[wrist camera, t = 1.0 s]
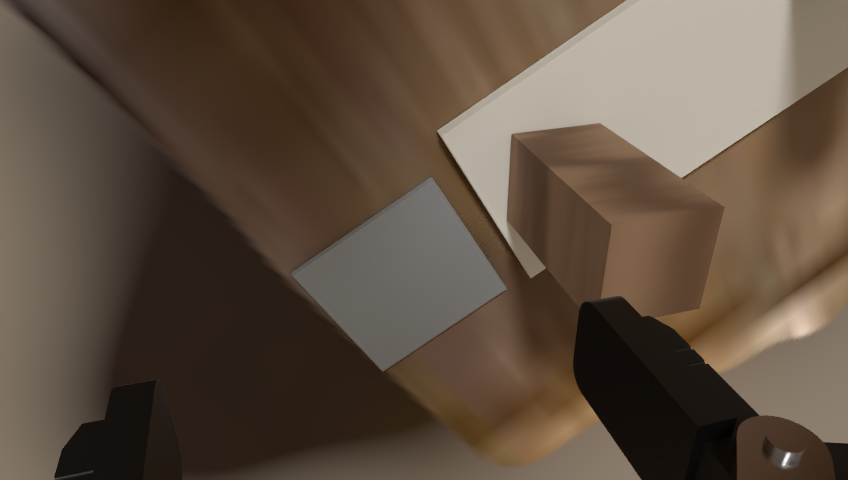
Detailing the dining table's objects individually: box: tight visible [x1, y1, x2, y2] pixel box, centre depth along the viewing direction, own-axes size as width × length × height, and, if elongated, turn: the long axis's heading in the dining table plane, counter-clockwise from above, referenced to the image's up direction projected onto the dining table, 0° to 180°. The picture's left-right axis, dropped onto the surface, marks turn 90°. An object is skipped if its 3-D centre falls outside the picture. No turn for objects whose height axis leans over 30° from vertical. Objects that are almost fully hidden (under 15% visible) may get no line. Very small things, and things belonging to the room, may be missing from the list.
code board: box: [437, 0, 848, 278], centre depth 35 cm, size 11×24×1 cm, turn 121°
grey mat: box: [292, 176, 507, 372], centre depth 37 cm, size 9×9×1 cm
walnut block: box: [507, 123, 724, 318], centre depth 31 cm, size 5×5×10 cm
